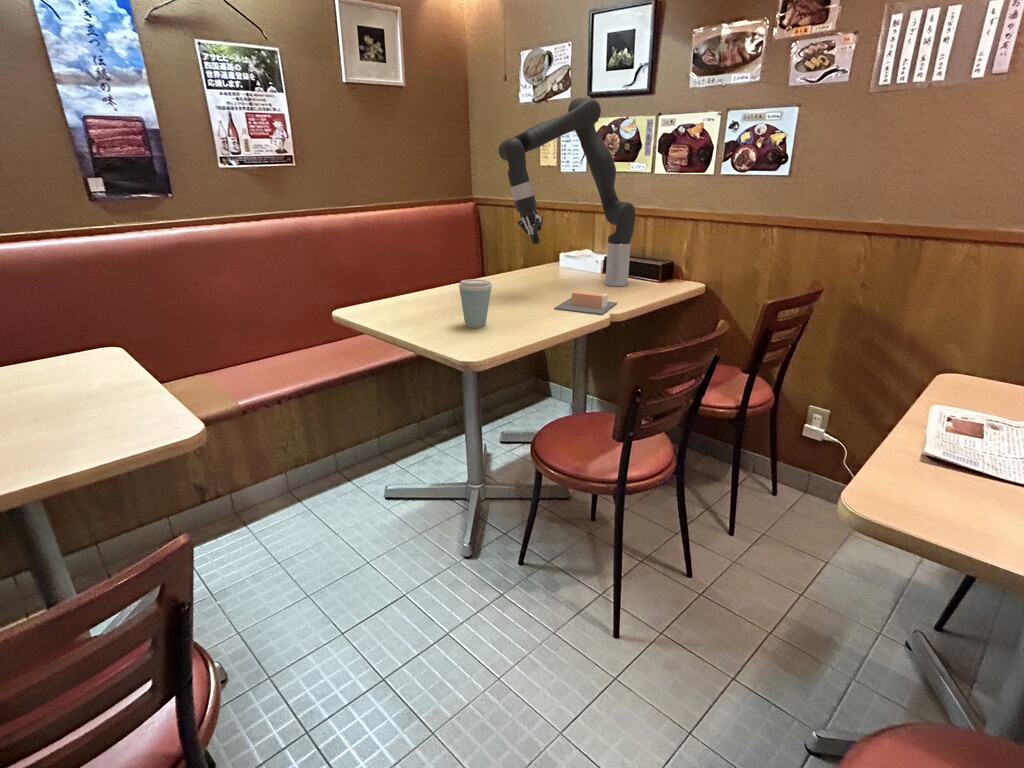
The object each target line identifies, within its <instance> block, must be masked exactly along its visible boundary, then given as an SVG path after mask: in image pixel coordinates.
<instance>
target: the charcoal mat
mask: <svg viewBox="0 0 1024 768" xmlns="http://www.w3.org/2000/svg"><path fill="white" fill-rule="evenodd" d="M617 305H618V302H616V301H608V302H607V307H605V308H604V309H600V308H592V307H583V306H575V305H572V296H571V297H570V298H567V299H566V300H565V301H563V302H561V303H560V304H558V305H557V306H555V307H554V308H553V310H555V311H564V312H572V313H581V314H589V315H595V316H603V315H605V314H606V313H608V311H610V310H611V309H613V308H614V307H616V306H617Z"/></svg>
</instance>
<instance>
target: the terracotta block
mask: <svg viewBox="0 0 1024 768" xmlns="http://www.w3.org/2000/svg"><path fill="white" fill-rule="evenodd" d="M571 297H572V305H575V306H583V307H592V308H600V309H604V308H605V307H607V302H609V301H608V300H609V299H608V297H609V294H608V293H603V292H596V291H595V292H594V291H587V290H578V289H576V290H574V291H573V292H571Z"/></svg>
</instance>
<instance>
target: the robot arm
mask: <svg viewBox="0 0 1024 768" xmlns="http://www.w3.org/2000/svg"><path fill="white" fill-rule="evenodd" d="M601 108H602V107H601V105H600V103H599V102H598V101H597V100H595V99H594V98H588V97H577V98H574V99H573V100H572V101H570V103H569V105H568V109H567V113H565V114H563V115H560V116H556V117H554V118H552V119H551V118H550V119H549V120H545V121H542V122H540V123H537V124H536V125H533V126H532V127H530V128H528V129H526V130H525V131H522V132H521V133H519V134H517V135H514V136H512V137H509V138H507V139H504V140H503V141H502V142H501V143H500V144H499V147H498V155H499V157H500V158H501V159H502V160H503V161H506V162H507V163H508V171H507V177H508V181H509V185H510V189H511V193H512V194H511V195H512V198H513V201H514V202H513V203H514V205H515V209H516V212H517V213H519V217H520V218H519V220H518V221H517V224H518V226H519V227H520V228H521V229H522V231H523V232H524V233H525V234H528V236H530V240H531V243H532V245H539V244H540V238H539V232H540V231H541V230H542V224H543V222H544V217H543V216H539V214H538V211H537V210H536V209H537V207H538V206H537V201H536V197H535V194H534V190H533V187H532V184H531V182H530V176H529V174H528V170H527V160H526V159H527V158H526V153H528V152H530V151H533V150H537V149H538V148H540V147H542V146H544V145H546V144H548V143H550V142H552V141H553V140H556V139H558V138H560V137H563V136H564V135H566V134H569V133H571V132H572V133H573V132H574V131H575V134H576V136H577V138H578V140H579V142H580V144H581V147H582V150H583V153H584V156H585V158H586V161H587V164H588V167H589V170H590V173H591V175H592V177H593V180H594V183H595V185H596V190H597V191H598V193H599V197H600V201H601V202H600V203H601V205H602V210H603V213H604V216H605V219H606V220H607V222H608V223H610V224H611V225H614V226H616V227H615V231H614V233H611V234H609V235H608V236H607V247H606V248H607V252H606V267H605V268H606V269H605V283H604V284H605V285H607V286H610V287H625V286H628V285H629V284H628V283H629V273H630V272H629V271H630V270H629V269H630V256H631V244H632V243H631V242H632V238H633V235H634V230H635V228H634V227H635V221H636V208H635V206H634V205H633V204H632V203H631V202H629V201H628V202H627V201H626V202H625V201H621V200H619V198H618V196H617V193H616V190H615V189H616V188H615V183H616V176H617V168H616V165H615V161H614V158H613V156H612V153H611V151H610V149H609V147H608V146H607V145H606V144H605V142H604V141H603V139H602V138H601V137H600V135H599V134H598V132H597V129H596V127H595V124H596V123H597V122H598V121H599V119H600V117H601V114H602V109H601Z"/></svg>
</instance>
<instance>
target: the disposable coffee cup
mask: <svg viewBox="0 0 1024 768" xmlns="http://www.w3.org/2000/svg"><path fill="white" fill-rule="evenodd" d="M458 288H459V294H460V300H461V301H460V302H461V306H462V313H463V319H464V320H463V321H464V324H465V326H466V327H467V328H470V329H481V328H484V327H485V326H486V324H487V320H488V311H489V305H490V299H491V292H492V288H493V284H492V283H491V281H490V280H487V279H477V278H476V279H474V278H473V279H463V280H460V282H459V284H458Z"/></svg>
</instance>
